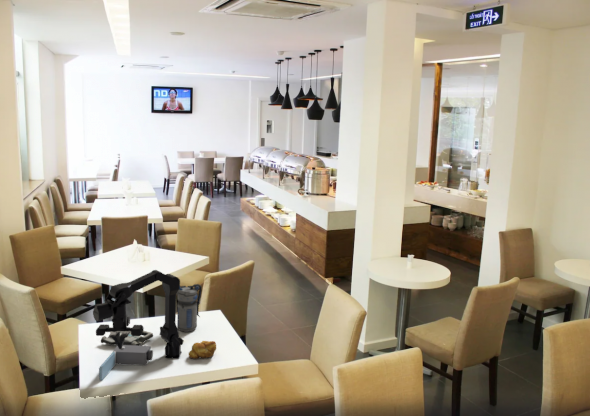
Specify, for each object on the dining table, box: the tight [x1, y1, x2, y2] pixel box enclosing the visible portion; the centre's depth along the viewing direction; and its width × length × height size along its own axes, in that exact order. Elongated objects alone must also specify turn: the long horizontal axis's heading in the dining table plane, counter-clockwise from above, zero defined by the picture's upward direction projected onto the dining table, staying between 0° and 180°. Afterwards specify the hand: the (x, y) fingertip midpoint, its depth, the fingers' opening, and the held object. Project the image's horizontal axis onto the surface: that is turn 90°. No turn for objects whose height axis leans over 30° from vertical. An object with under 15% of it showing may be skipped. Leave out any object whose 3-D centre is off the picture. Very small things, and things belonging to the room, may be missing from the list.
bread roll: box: [188, 340, 217, 360], centre depth 237 cm, size 13×10×8 cm
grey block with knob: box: [112, 345, 154, 366], centre depth 229 cm, size 17×7×7 cm, turn 91°
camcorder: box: [100, 330, 154, 346], centre depth 248 cm, size 16×20×5 cm
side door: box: [98, 351, 117, 381], centre depth 218 cm, size 15×2×6 cm, turn 178°
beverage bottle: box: [176, 283, 203, 333], centre depth 266 cm, size 10×13×25 cm
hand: (120, 348), depth 217 cm, fingers closed
